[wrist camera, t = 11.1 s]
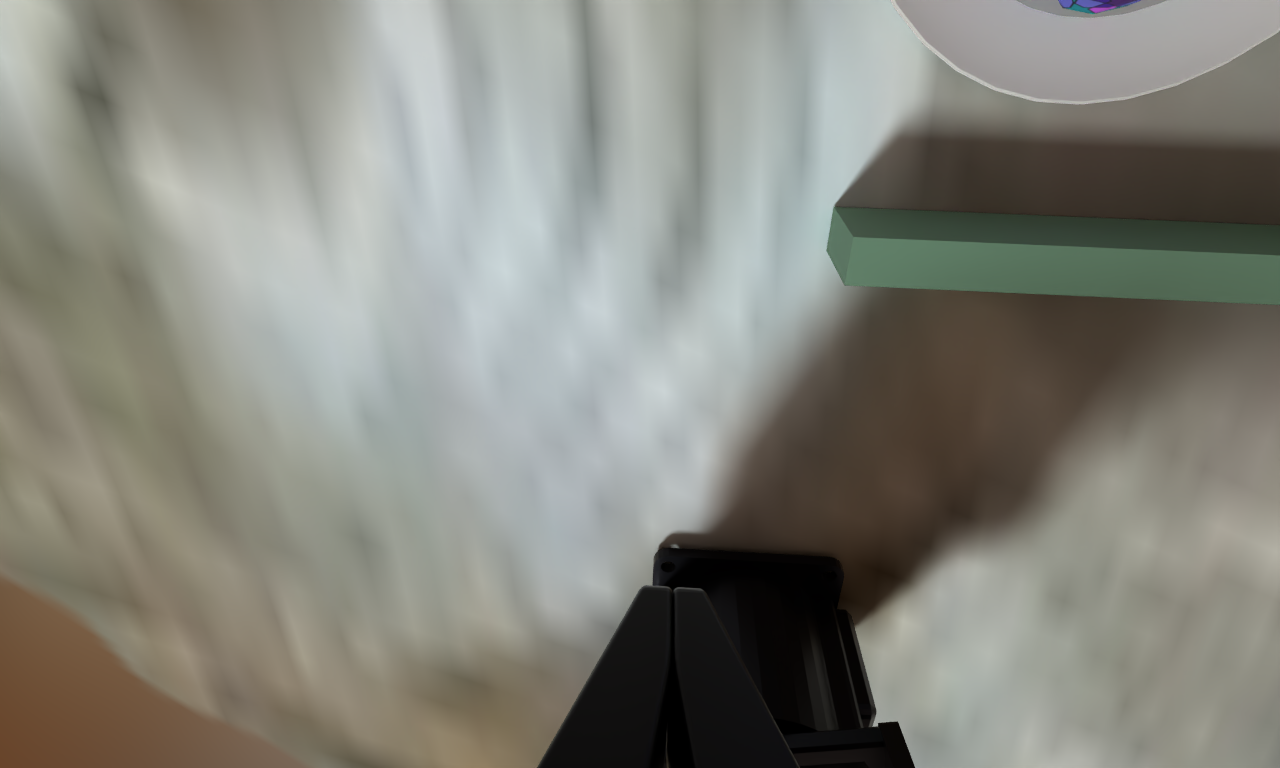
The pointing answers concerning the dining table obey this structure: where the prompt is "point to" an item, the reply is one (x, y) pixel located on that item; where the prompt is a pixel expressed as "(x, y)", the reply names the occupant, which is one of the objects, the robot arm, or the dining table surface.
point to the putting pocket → (1056, 255)
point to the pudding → (1088, 43)
